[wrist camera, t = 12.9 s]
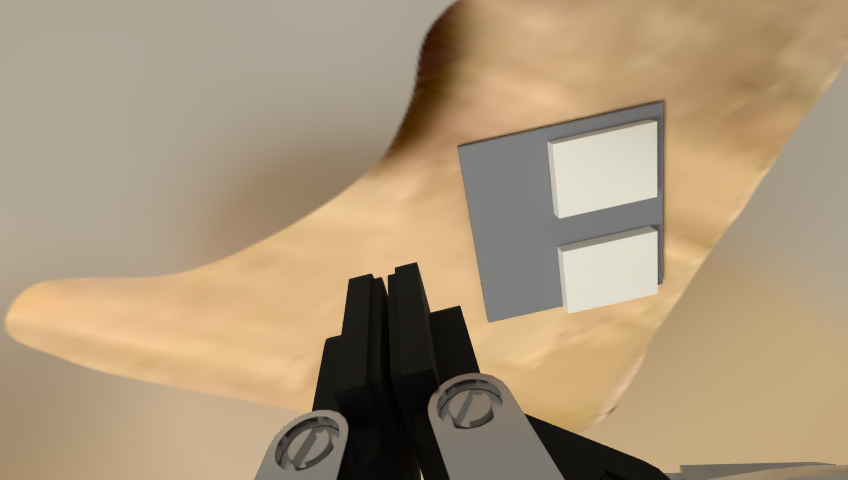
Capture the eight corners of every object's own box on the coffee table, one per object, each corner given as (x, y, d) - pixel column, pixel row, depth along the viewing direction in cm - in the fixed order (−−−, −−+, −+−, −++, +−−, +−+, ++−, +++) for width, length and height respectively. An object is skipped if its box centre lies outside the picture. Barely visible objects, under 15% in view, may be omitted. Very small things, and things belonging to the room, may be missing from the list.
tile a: (552, 144, 34) (657, 121, 34) (546, 141, 35) (647, 119, 35) (559, 218, 37) (657, 196, 37) (553, 213, 38) (648, 192, 38)
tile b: (562, 252, 38) (657, 231, 38) (556, 246, 39) (648, 225, 39) (568, 313, 40) (657, 293, 40) (562, 306, 41) (649, 286, 41)
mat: (457, 146, 36) (458, 147, 35) (658, 101, 36) (663, 102, 35) (487, 319, 42) (488, 322, 41) (658, 280, 42) (662, 283, 41)
